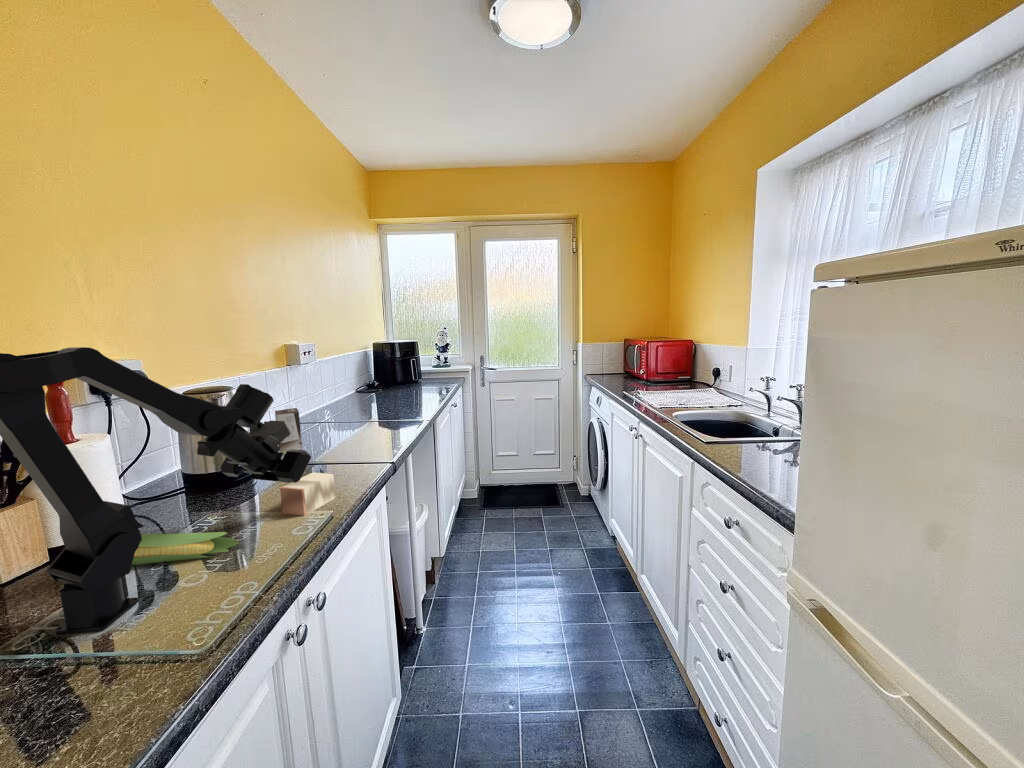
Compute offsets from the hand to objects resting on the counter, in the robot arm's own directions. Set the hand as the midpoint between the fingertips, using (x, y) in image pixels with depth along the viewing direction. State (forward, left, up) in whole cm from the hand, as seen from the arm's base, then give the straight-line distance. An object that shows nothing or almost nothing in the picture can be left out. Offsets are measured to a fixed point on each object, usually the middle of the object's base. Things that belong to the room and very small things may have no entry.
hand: (291, 480), depth 92 cm
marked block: (0, 0, -5) cm, 5 cm away
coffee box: (+41, +17, -8) cm, 45 cm away
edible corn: (-16, +14, -8) cm, 23 cm away
